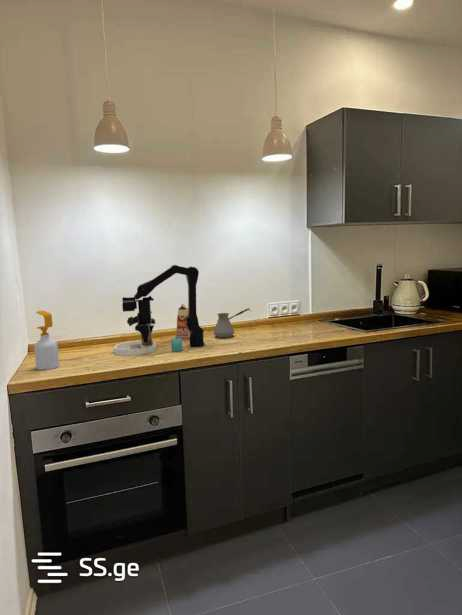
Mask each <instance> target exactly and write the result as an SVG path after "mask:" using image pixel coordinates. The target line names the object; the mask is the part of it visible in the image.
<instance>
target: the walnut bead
mask: <svg viewBox="0 0 462 615" xmlns="http://www.w3.org/2000/svg"><path fill="white" fill-rule="evenodd" d="M152 336H153V335H152V333H151V332H150V333H149V337H148V340H147V343H144V340H143V337H142V334H141V333H140V337H141V338H140V339H141V340H140V341H142V346H149V345H152V341H153V338H152Z"/></svg>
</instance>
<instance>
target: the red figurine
mask: <svg viewBox="0 0 462 615" xmlns="http://www.w3.org/2000/svg"><path fill="white" fill-rule="evenodd" d="M185 316H188V307H187V306H186V305H185V304H183V303H181V306H179V308H178V309H177V316H176V328H175V329H176V331H175V336H174V338H182V342H190V339H189V337H190V334H191V333H192V332H191V331H190V330H189V329H188V328H187V327H186V325H185Z"/></svg>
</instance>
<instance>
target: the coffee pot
mask: <svg viewBox="0 0 462 615" xmlns="http://www.w3.org/2000/svg"><path fill="white" fill-rule="evenodd" d="M247 311H249V312H251V309H250V308H249V307H248V308H245V309H244V310H242V311H240V312H237V313H236V314H233V315H232V316H230V317H229V315H230V313H228V312H221V313H217V316H218V319H217V321H216V323H215V324H216V325H215V327H214V330H213V334H214V336H216V337H217V338H219V339H229V338H231V337H232V336H233V335H234V334H235V330H234V327H233V325H232V324H231V321H230V320H231V319H233V318H235V317H237V316H239V315H242V314H244V313H245V312H247Z"/></svg>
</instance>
